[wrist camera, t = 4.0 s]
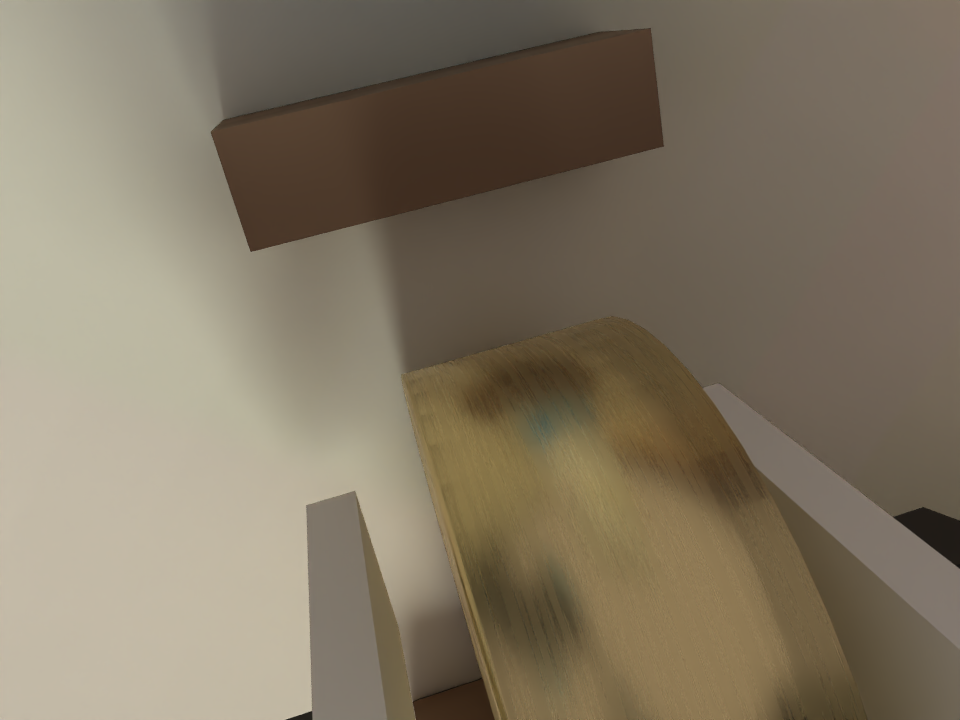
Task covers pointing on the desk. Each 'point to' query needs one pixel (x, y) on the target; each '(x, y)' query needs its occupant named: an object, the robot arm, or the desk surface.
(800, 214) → the desk surface
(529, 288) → the desk surface
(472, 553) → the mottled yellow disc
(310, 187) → the cradle
